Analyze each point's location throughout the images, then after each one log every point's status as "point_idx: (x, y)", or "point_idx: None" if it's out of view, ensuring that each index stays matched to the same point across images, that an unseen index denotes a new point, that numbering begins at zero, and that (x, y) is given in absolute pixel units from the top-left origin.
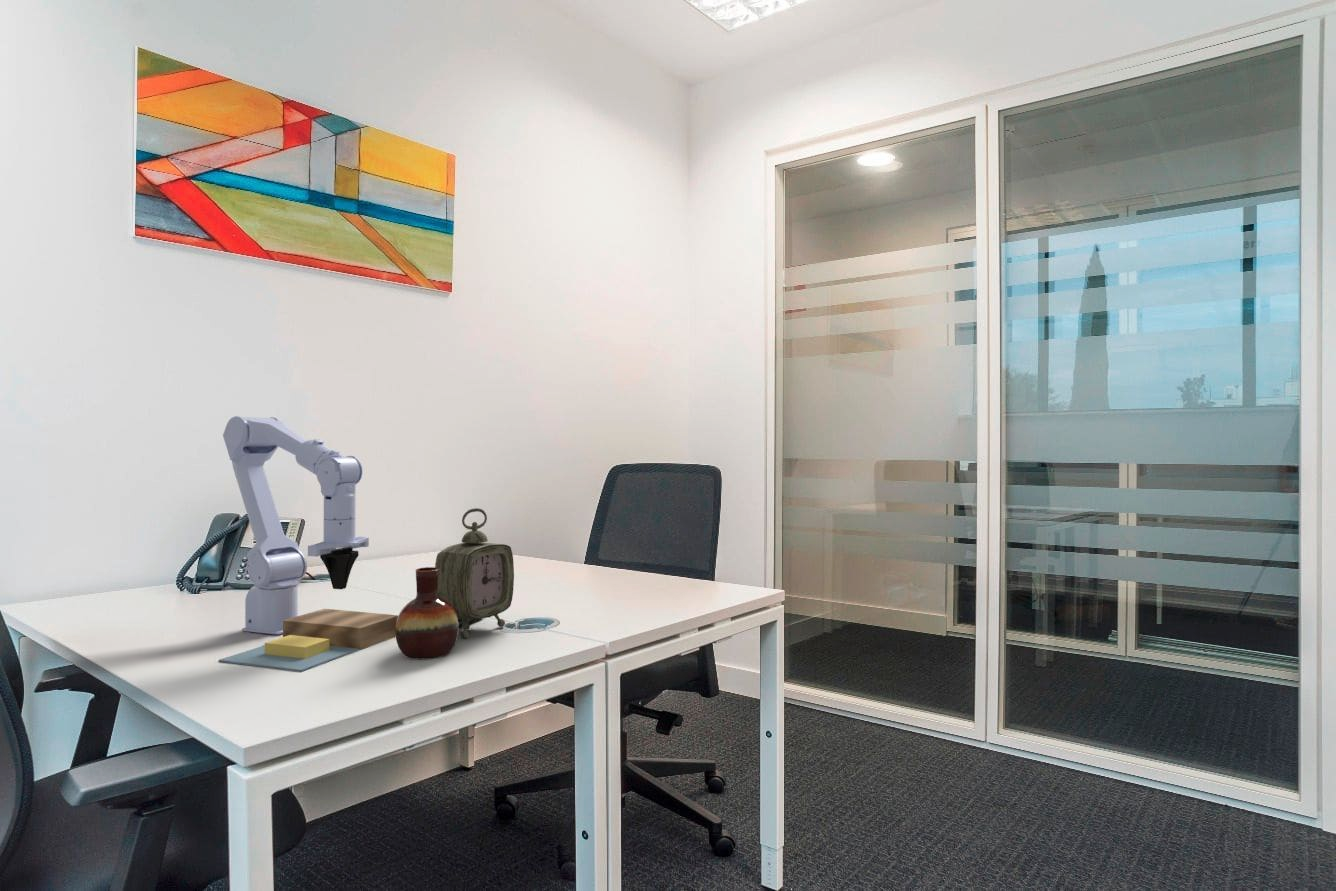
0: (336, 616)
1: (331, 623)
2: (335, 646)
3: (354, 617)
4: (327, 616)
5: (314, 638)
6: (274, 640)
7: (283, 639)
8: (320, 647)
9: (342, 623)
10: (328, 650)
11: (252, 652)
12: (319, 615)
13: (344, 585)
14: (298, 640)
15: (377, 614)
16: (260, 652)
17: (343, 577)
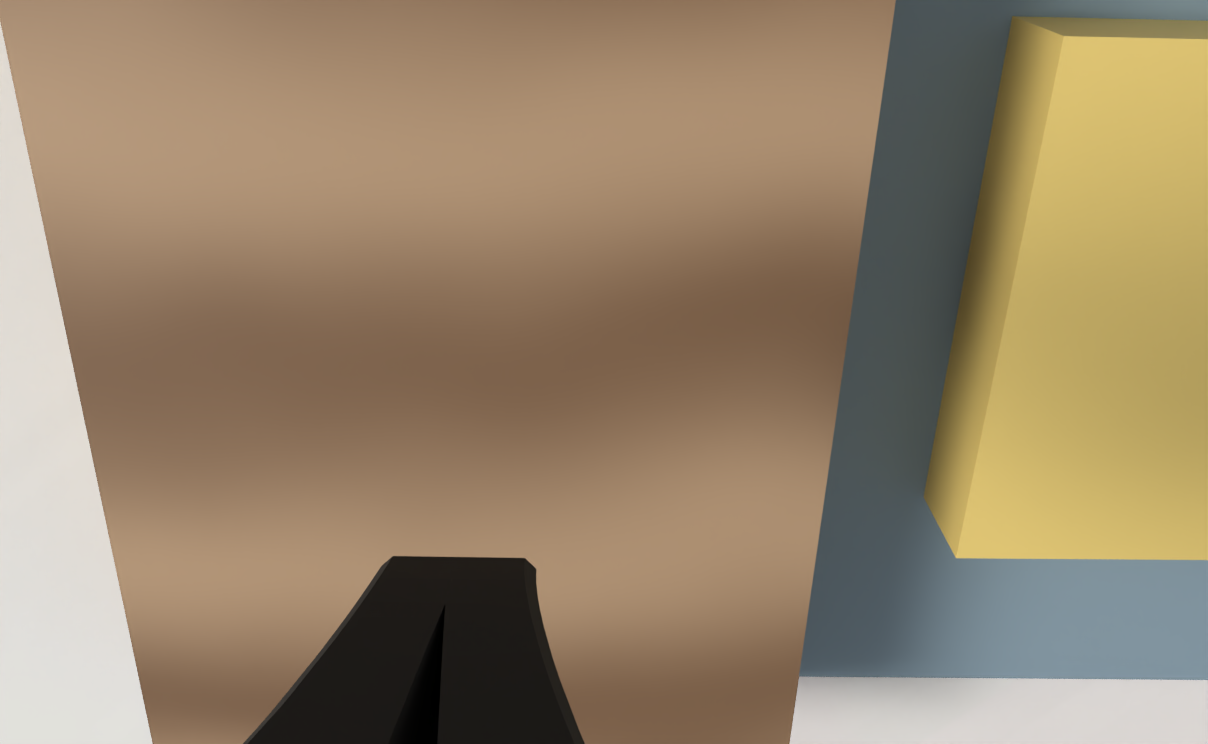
0: (423, 471)
1: (779, 278)
2: None
3: (371, 225)
4: None
5: (1058, 232)
6: (1184, 543)
7: (1140, 494)
8: (1185, 30)
9: (738, 140)
10: (1035, 11)
11: (1184, 612)
12: None
13: (447, 584)
14: (1165, 333)
15: (59, 24)
16: (1175, 561)
17: (509, 703)
